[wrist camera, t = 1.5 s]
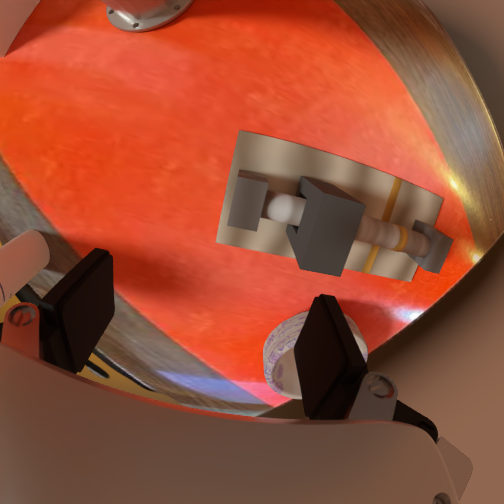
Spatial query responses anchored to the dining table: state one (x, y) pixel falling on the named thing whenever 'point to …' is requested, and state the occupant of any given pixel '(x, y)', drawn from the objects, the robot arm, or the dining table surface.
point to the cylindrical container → (21, 262)
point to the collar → (324, 227)
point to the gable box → (13, 20)
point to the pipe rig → (345, 178)
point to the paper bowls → (292, 354)
